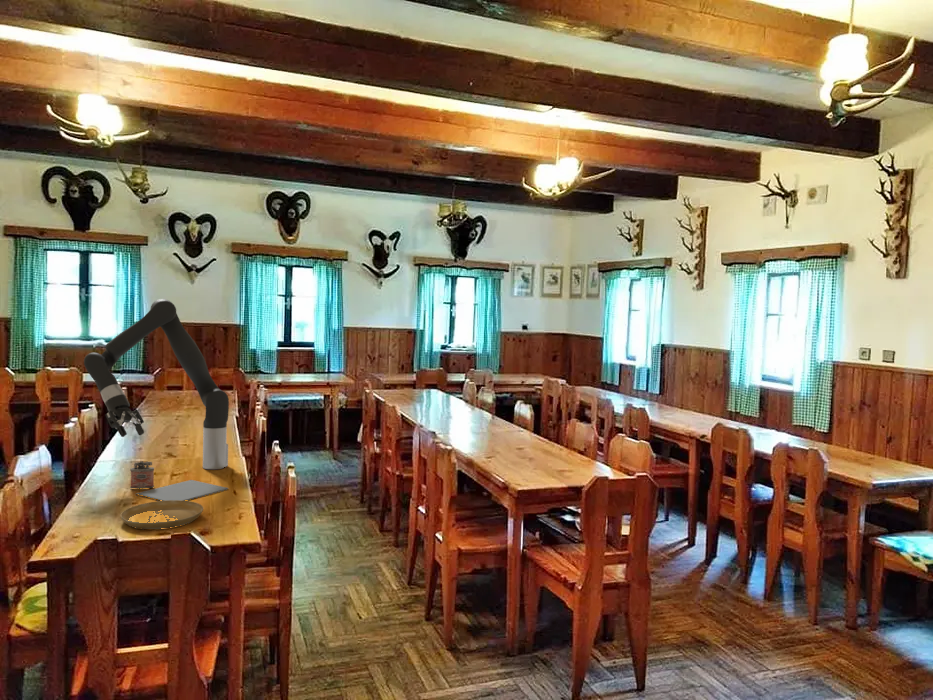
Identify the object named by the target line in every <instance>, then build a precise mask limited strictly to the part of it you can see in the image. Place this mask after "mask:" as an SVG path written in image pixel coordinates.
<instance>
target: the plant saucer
mask: <svg viewBox="0 0 933 700" xmlns="http://www.w3.org/2000/svg"><path fill="white" fill-rule="evenodd" d="M160 510H162V511H161V512H158V511H160ZM147 511H155V513H156V514H159V513H162V512H163V513H162V514H163V515H164V516H165V515H168V516H169V518H174V519H176V518H177V519H178V520H175V521H169V520H170V519H166V520H167V522H159V521H158V522H156V523H154V522H153V523H148V522H150V518H151V517H152V516H149V519H148V520H149V521H148V522H147V523H139V522H132V521H128V520H129V518H130V517H132V516H134V515H136V514H140V513H143V512H147ZM203 511H204V506H203V505H202V504H200V503H198V502H195V501H192V500H188V501H183V500H167V501H158V500H155V501H150V502H144V503H141V504H140V503H139V504H137V505H133V506H130V507H128V508H126V509H125V510H123V511H122V512H121V513H120V519H121V520H122V521H123V522H124V524H126V525H127V526H129V527H131V526H132V528H133V527H136V528H135V529H137V528H142V529H141V530H144V529H161V528H170V527H175V526H180V525H183V526H185V525H184V524H186V525H188V524H191V523H192V522H194V521H195V520H196V519H198V518H199V517H200V516H201V514H202V512H203ZM153 513H154V512H153ZM162 514H160V515H162ZM156 516H157V515H155V516H154V517H156ZM173 516H175V517H173ZM165 518H167V517H165ZM154 521H155V520H154ZM187 523H188V524H187ZM180 527H181V526H180ZM175 528H176V527H175ZM170 529H171V528H170ZM161 530H162V529H161Z"/></svg>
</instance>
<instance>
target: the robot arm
mask: <svg viewBox="0 0 933 700" xmlns="http://www.w3.org/2000/svg"><path fill="white" fill-rule="evenodd" d="M158 328H161V330H162V331H163V332H164V334H165V336H166V338H167V340H168V342H169V345H170V347H171V349H172V352H173V353H174V355H175V357H176V359H177V361H178V363H179V364H180V365H181V368H182V369H183V371H184V372H185V373H186V375H187V376H188V378H189V379H190V380H191V382H192V383H193V385H194V387H195V389H196V390H197V393H198V395H199V397H200V400H201V402H202V404H203V405H204V407H205V417H204V420H203V424H202V426H203V428H202V429H203V430H202V431H203V432H202V434H203V435H202V437H203V438H202V468H203V469H205V470H220V469H224V467H225V468H227V467H228V466H229V443H227V433H228V431H227V429H228V428H227V423H228V421H229V413H230V412H229V409H230V406H229V405H230V401H229V396H228V394H227V393H226V391H224V390H222V389H220V387H219V386H218V385H217V384H216V382H215V381H214V379H213V378H212V376H211V374H210V372H209V368H208V365H207V362H206V359H205V357H204V356H203V353H202V351H201V350H200V349H199V346H198V345H197V343H196V341H195V340H194V339H193V338H192V336H191V335H190V334H189V333H188V331H187V330H186V329H185V328H184V325H183V324H182V322H181V319H180V318H179V316H178V313H177V308H176V306H175V304H174V303H173V302H172V301H170V300H168V299H165V298H158V299H156V300H154V301H153V302H152V304H151V305H150V309H149V311H148V312H147V313H146V314H145V315H144V316H143V317H142V318H140V320H138V321H136V323H133V325H131V326H130V327H128V328H126V329H124V330H122V331H121V332H120V333H118V334H117V335H116V336H115V337H114V338H112V339H111V340H110V341H108V342H107V343H106V345H105V350H104V351H103V352H102V354H100V353H99V352H89V353H87V354H86V355H85V357H84V359H83V365H84V368H85V370H86V371H87V373H88V374H89V376H90V377H91V378H92V380H93V381H94V383H95V385H96V387H97V389H98V391H99V393H100V395H101V398H102V401H103V402H104V404H105V406H106V408H107V411H108V412H107V413H106V414H105V418H106V420H107V422H108V424H109V426H110V427H111V429H114V428H115V429H116V430H117V432H118V434H119V436H120V437H122V438H124V437H126V436H127V435H128V433H127V431H126V429H125V427H124V425H123V424H124V423H127V424H129V425H132V426H133V427H134V428H135V429H134V430H135V431H136V433H137V435H138V436H142V435H143V434H144V433H145V431H144V428H143V426H142V424H144V423H145V421H144V419H143V417H142V416H141V413H140V412H139V410H138V409H135V410H131V409H130V402H129V400H128V398H127V396H126V393H125V391H124V390H123V389H122V387H121V386H120V384H119V382H118V379H117V378H116V376H115V375H114V374H113V373H112V372H111V371H110V370H111V369H112V368H113V367H114V366H115V364H116V363H117V362H118V361H119V359H120V358H121V357H122V356H124V355H125V354H126V353H127V352H129V351H130V350H132V348H134V347H135V346H136V345H137V344H139V343H140V342H141V341H142V340H143V339H144V338H145V337H147V336H148V335H149V334H151V333H153V332H154V331H155V330H156V329H158Z"/></svg>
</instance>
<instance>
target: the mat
mask: <svg viewBox="0 0 933 700" xmlns="http://www.w3.org/2000/svg"><path fill="white" fill-rule="evenodd" d="M227 489H228V490H229V487H225V486H221V485H217V484H211V483H207V482H204V481H203V482H202V481H198V480H193V479H189V480H185V481H181V482H177V483H173V484H172V483H171V484H169V485H165V486H161V487H160V486H159V487H156V488H153V489H147V490H144V491H140V492H136V493H135V495H136V494H139V495H143V496H147V497H150V498H154V499H158V500H162V501H167V500H183V501H185V500H188V501H191V500H190V499H192V500H195V499H194V498H196V499H199V498H203V497H206V496H205V495H207V496H209V494H210V495H214V494H217V492H218V493H220V491H221V492H224V490H225V491H227ZM213 493H214V494H213ZM202 496H203V497H202ZM198 497H199V498H198ZM150 498H149V499H150ZM154 499H153V500H154ZM158 500H157V501H158Z"/></svg>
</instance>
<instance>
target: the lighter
mask: <svg viewBox="0 0 933 700" xmlns="http://www.w3.org/2000/svg"><path fill="white" fill-rule="evenodd" d="M149 466H151V467H149ZM152 466H153V462H152V461H142V460H140V461H139V462H138V461H137V462H134V463H133V467H131V468H130V470H129V471H130V487H129V489H130V488H139V489H140V488H153V487H154V488H155V485H154V484H155V483H154V481H155V479H154V475H155V473H154V472H155V467H152ZM154 488H153V489H154Z"/></svg>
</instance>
